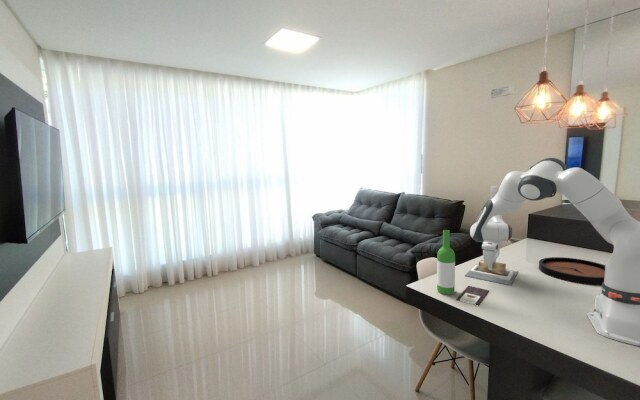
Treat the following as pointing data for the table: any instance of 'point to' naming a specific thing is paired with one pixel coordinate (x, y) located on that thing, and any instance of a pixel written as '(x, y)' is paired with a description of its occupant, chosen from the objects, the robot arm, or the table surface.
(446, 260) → the wine bottle
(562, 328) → the table surface
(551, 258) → the wall clock
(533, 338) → the table surface
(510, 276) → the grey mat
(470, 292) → the chocolate bar
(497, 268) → the tan wooden bar
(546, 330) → the table surface
